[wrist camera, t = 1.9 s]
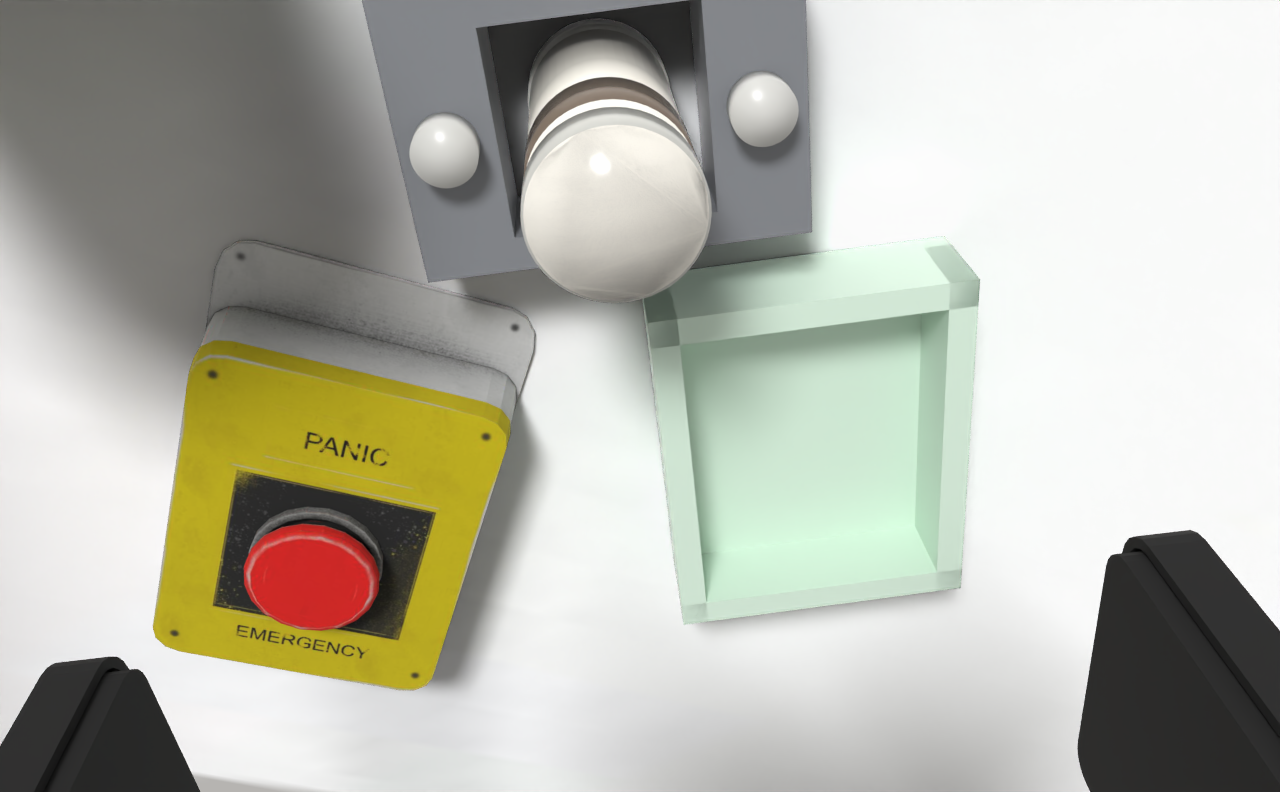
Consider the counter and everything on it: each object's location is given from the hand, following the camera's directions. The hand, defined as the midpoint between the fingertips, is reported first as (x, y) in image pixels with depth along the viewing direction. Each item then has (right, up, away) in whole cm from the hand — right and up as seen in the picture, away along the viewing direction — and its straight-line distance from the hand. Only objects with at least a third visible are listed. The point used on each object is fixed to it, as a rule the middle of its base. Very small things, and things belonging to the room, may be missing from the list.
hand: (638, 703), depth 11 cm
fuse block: (-1, +11, +18) cm, 21 cm away
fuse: (-1, +11, +18) cm, 21 cm away
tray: (+5, +2, +24) cm, 24 cm away
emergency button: (-10, +1, +24) cm, 26 cm away
